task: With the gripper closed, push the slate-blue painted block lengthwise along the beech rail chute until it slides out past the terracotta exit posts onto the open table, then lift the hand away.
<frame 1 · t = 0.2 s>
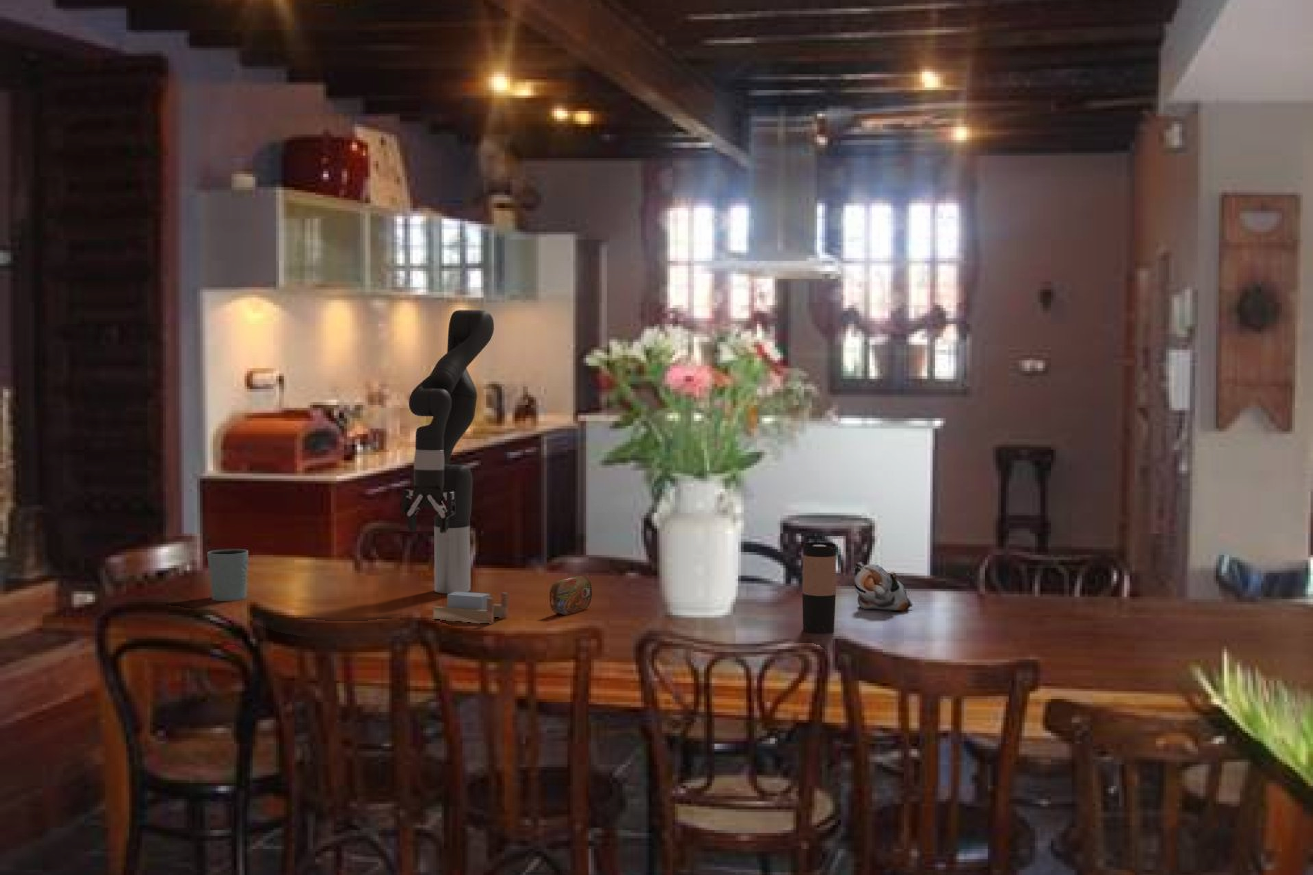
hand: (428, 531, 387), 17 cm above the table, tool pointing down, fingers open, 8 cm apart
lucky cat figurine: (881, 609, 381), on the table
tin: (570, 612, 374), on the table
chute: (468, 618, 365), on the table
travel mug: (818, 631, 353), on the table
block: (468, 619, 365), on the table
grey tapered cup: (228, 598, 390), on the table
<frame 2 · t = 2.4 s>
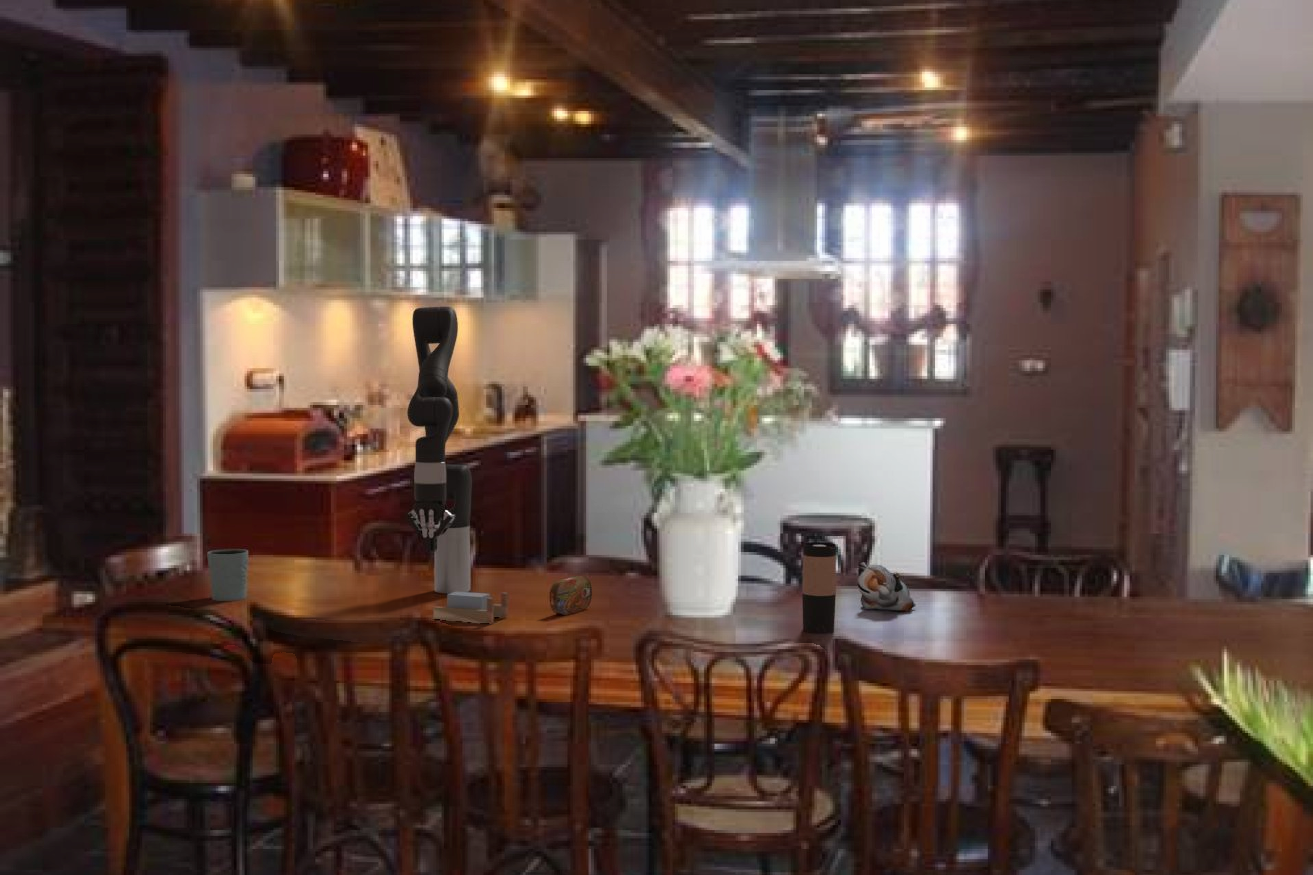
hand: (430, 552, 367), 15 cm above the table, tool pointing down, fingers closed
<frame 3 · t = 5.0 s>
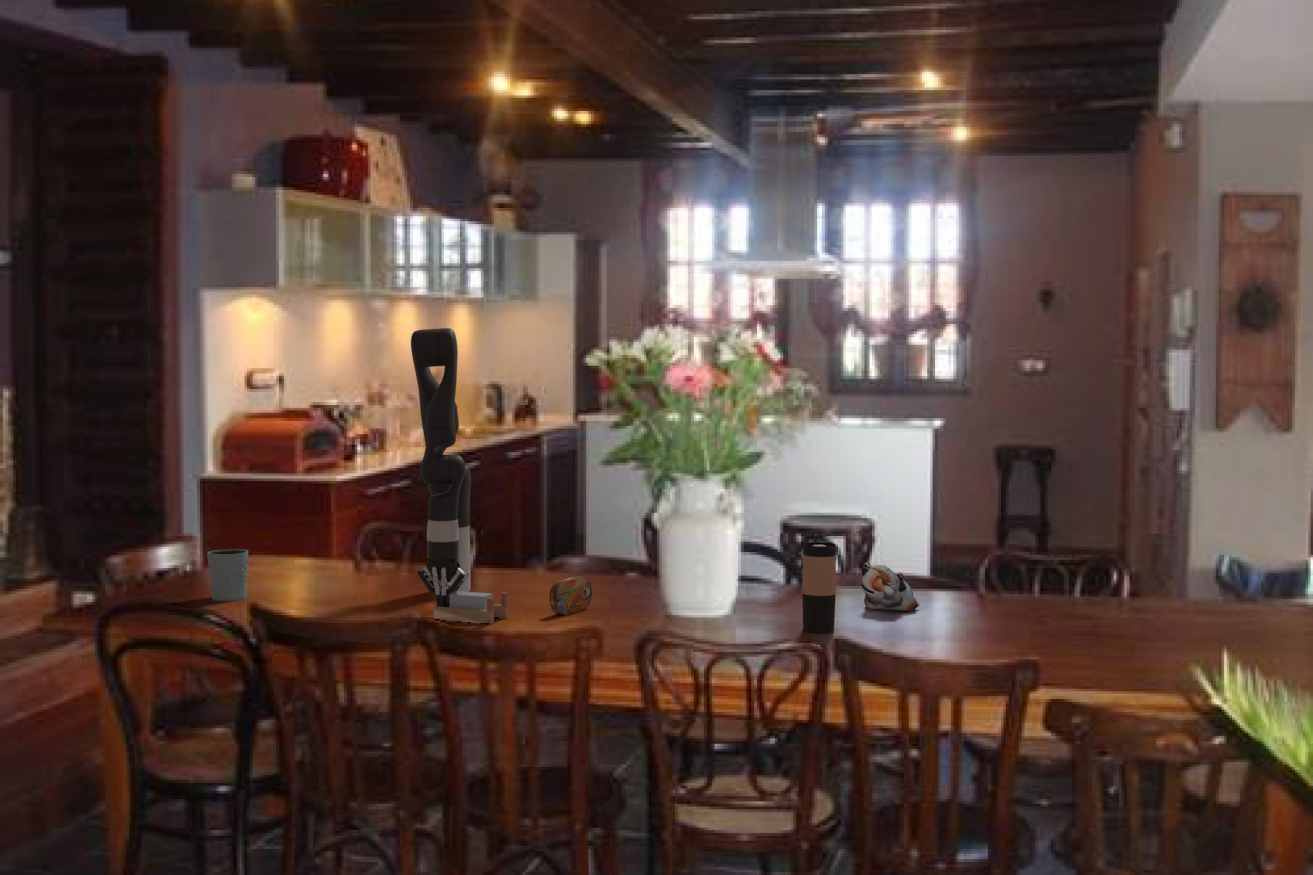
hand: (443, 610, 367), 2 cm above the table, tool pointing down, fingers closed
block: (471, 618, 365), on the table, touching gripper
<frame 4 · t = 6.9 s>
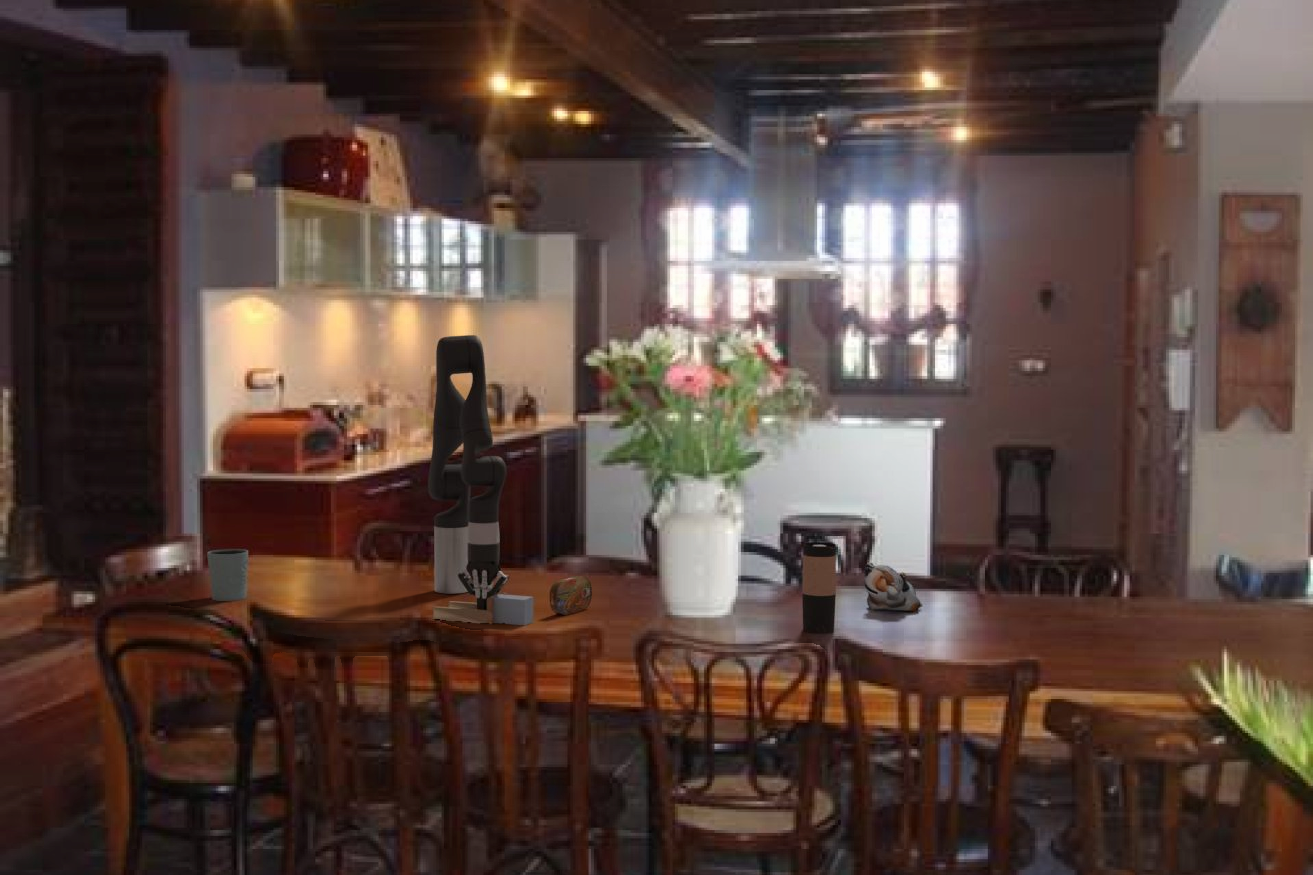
hand: (483, 613, 363), 2 cm above the table, tool pointing down, fingers closed
block: (512, 622, 361), on the table, touching gripper
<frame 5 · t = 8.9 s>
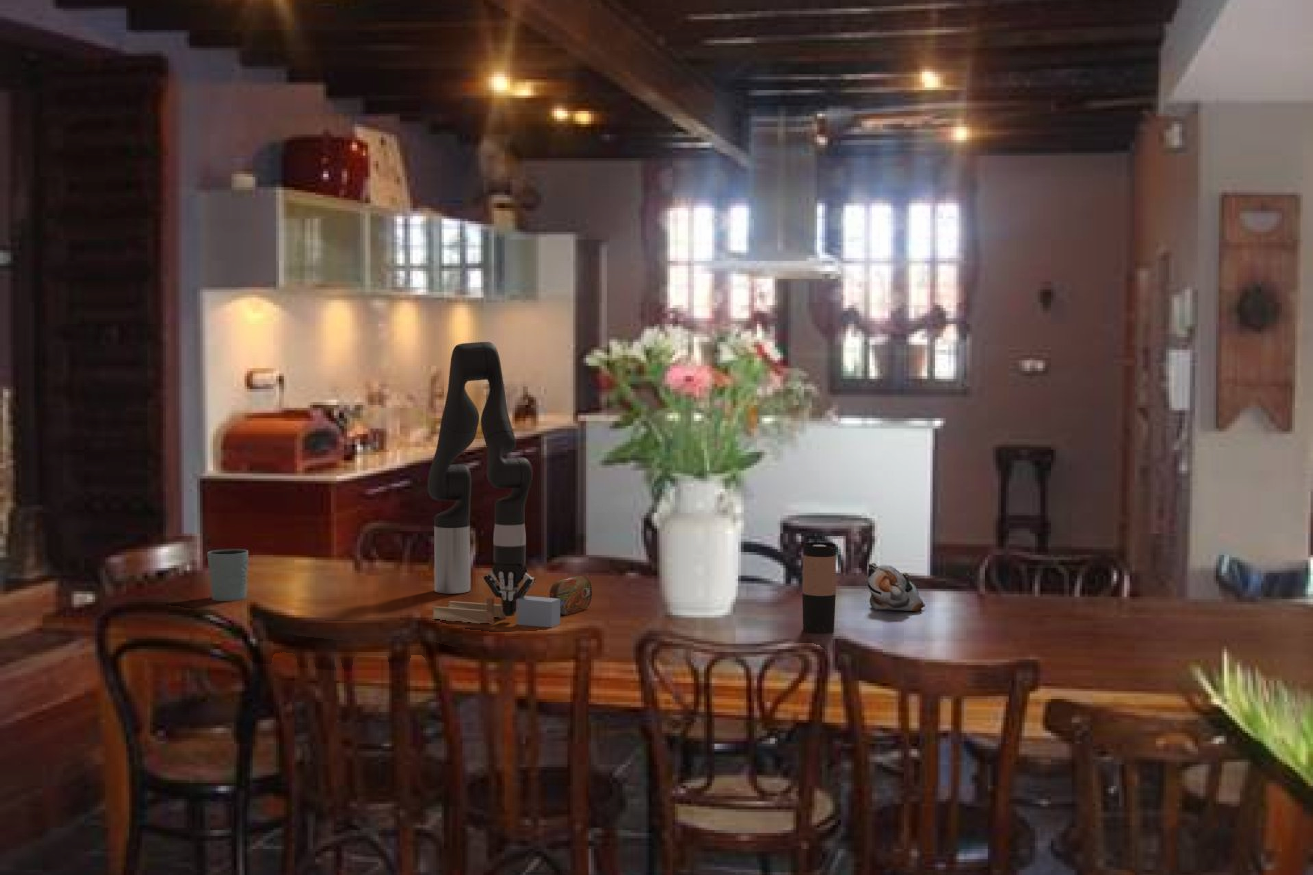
hand: (509, 615, 361), 1 cm above the table, tool pointing down, fingers closed
block: (538, 624, 358), on the table, touching gripper
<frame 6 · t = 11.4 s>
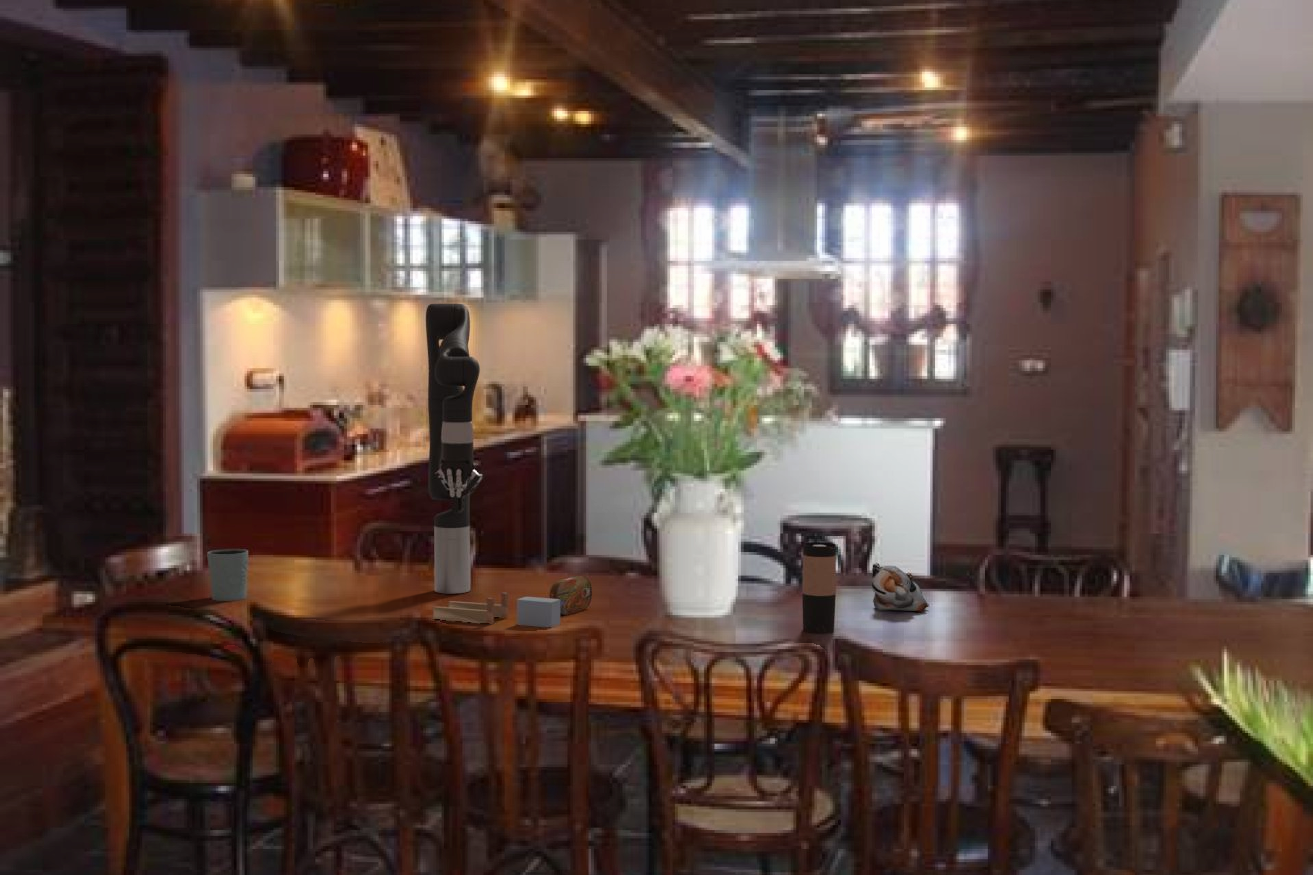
hand: (457, 512, 367), 25 cm above the table, tool pointing down, fingers closed
block: (538, 624, 358), on the table
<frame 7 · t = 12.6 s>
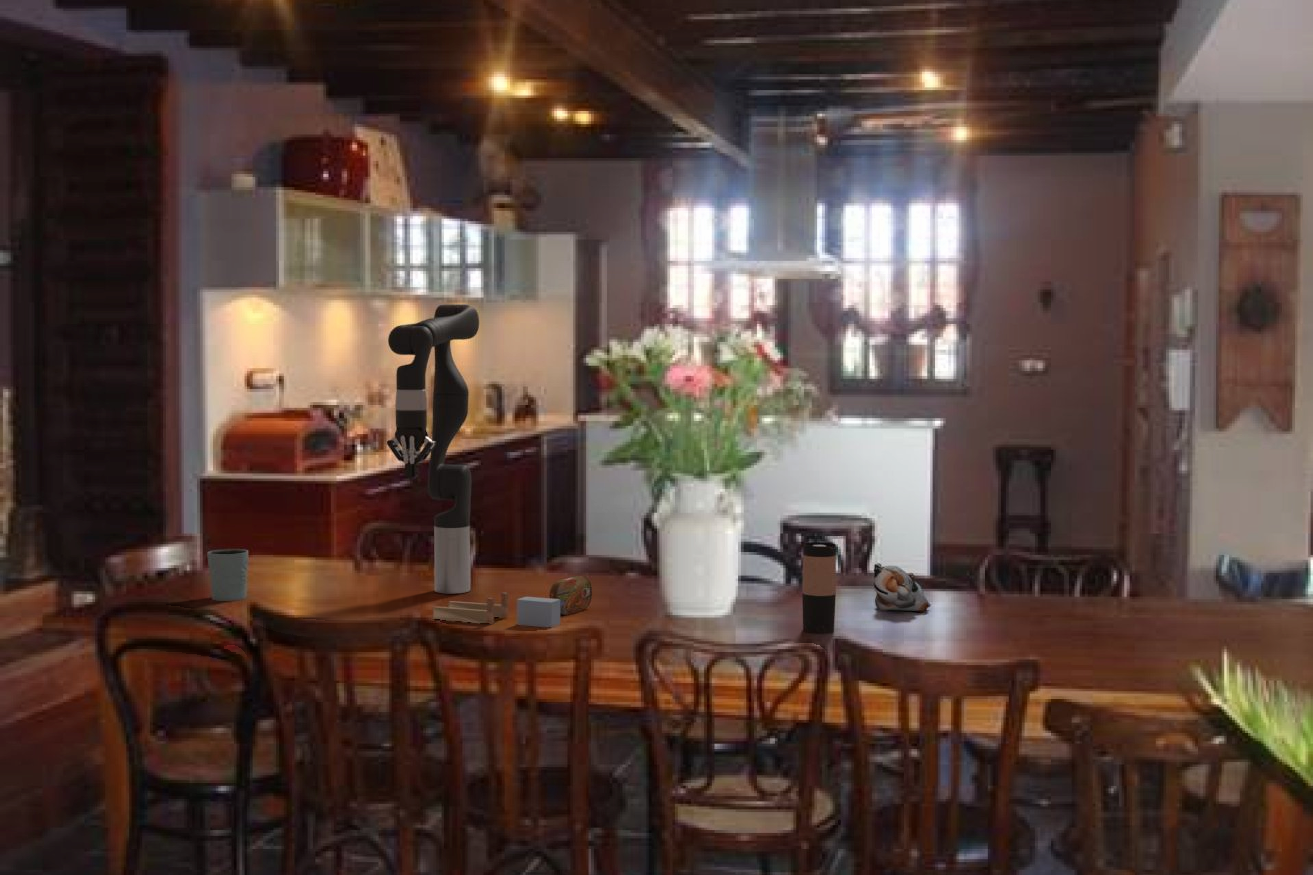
hand: (411, 478, 375), 32 cm above the table, tool pointing down, fingers closed
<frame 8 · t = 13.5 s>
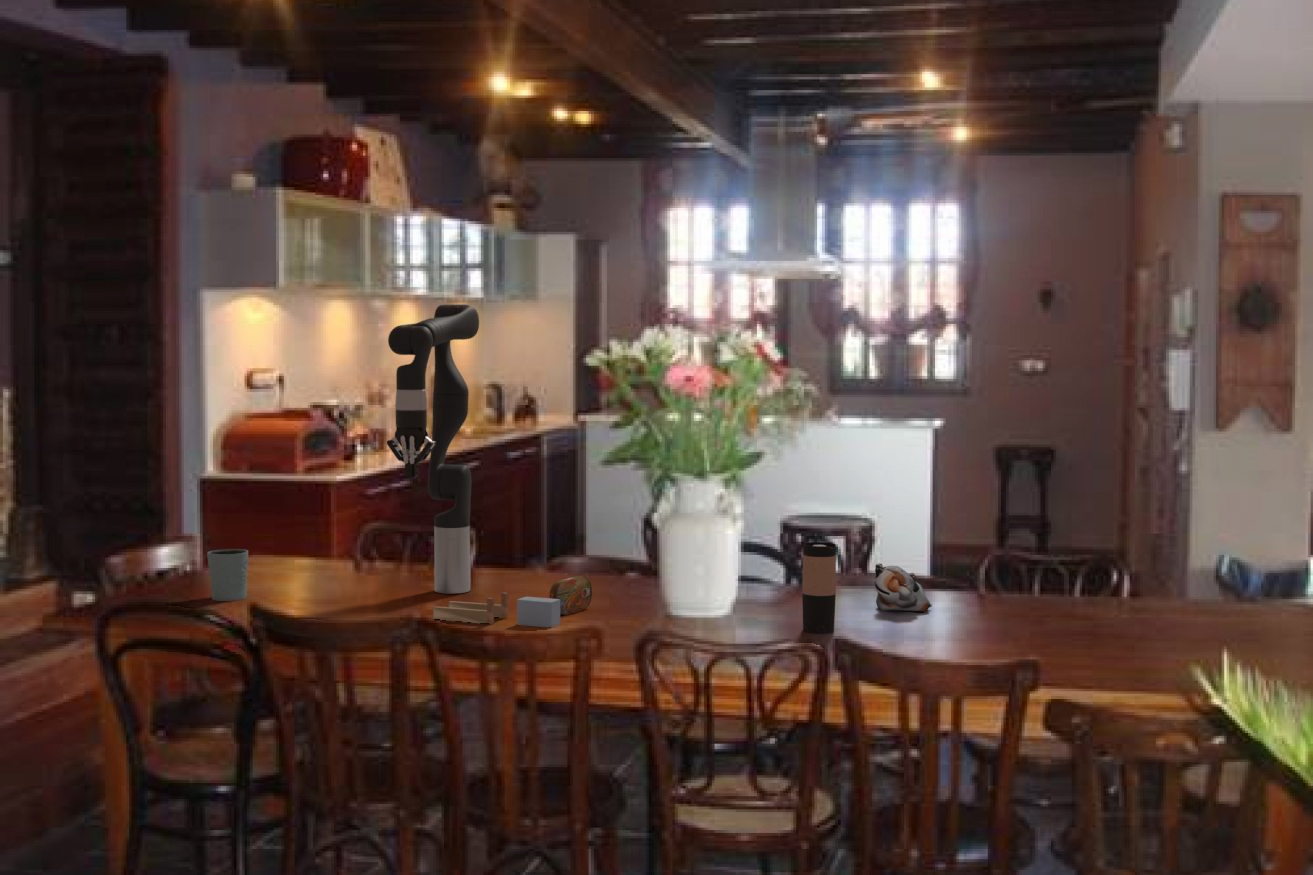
hand: (411, 478, 375), 32 cm above the table, tool pointing down, fingers closed
at the end: block inside the target area (5.5 cm from its centre), on the table; block tilted 0°; block moved 18.3 cm from its start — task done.
